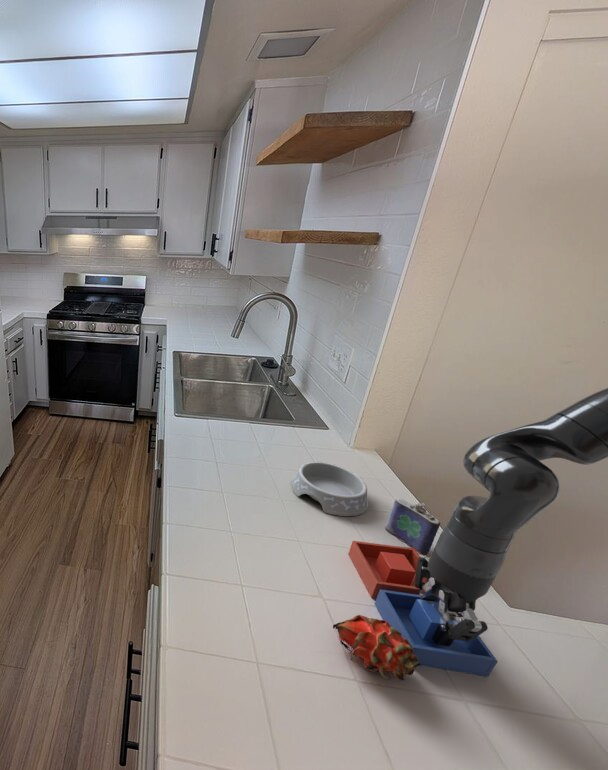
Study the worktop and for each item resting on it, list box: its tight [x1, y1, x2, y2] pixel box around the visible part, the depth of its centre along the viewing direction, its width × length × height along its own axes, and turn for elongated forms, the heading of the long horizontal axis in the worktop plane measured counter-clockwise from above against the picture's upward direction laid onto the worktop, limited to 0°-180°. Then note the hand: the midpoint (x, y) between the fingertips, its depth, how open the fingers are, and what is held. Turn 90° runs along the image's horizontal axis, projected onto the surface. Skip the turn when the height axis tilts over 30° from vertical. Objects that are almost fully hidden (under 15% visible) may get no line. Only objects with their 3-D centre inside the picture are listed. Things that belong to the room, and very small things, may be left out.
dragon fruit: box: [332, 614, 421, 681], centre depth 65 cm, size 8×8×12 cm
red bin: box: [347, 540, 427, 599], centre depth 80 cm, size 12×11×4 cm
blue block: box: [409, 599, 454, 644], centre depth 68 cm, size 4×4×4 cm
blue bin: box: [374, 589, 498, 678], centre depth 68 cm, size 12×11×4 cm
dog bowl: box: [290, 461, 368, 517], centre depth 105 cm, size 17×18×5 cm
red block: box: [375, 552, 416, 586], centre depth 79 cm, size 4×4×4 cm
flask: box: [384, 498, 441, 556], centre depth 88 cm, size 9×3×11 cm, turn 21°
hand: (430, 628), depth 68 cm, fingers closed on blue block, 4 cm apart
